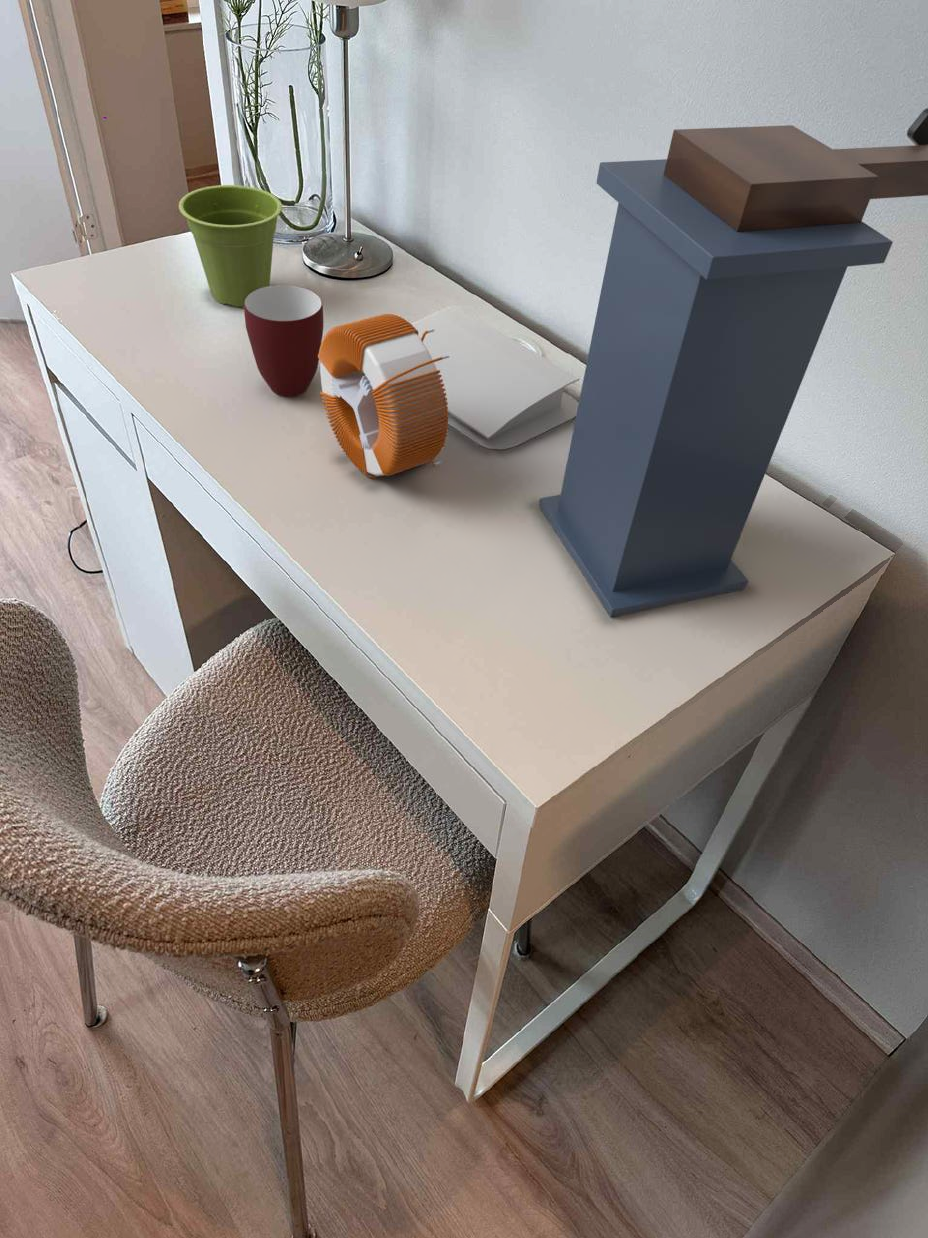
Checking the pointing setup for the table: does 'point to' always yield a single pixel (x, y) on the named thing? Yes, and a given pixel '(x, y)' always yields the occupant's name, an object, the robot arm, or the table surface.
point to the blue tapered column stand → (688, 386)
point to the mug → (285, 336)
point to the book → (494, 381)
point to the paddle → (789, 176)
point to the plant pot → (233, 237)
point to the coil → (383, 394)
